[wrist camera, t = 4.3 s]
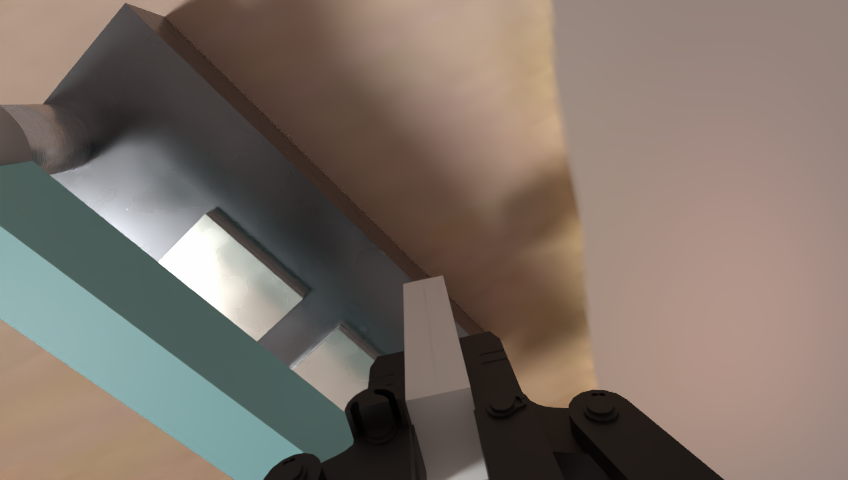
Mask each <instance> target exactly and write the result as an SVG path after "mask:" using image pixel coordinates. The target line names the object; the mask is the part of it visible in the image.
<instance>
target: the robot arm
mask: <svg viewBox="0 0 848 480" xmlns="http://www.w3.org/2000/svg"><path fill="white" fill-rule="evenodd" d="M403 296H404V349H405V351H401V352H397V353H392V354H387V355H383V356H378V357H377V358H376V360H375V361H374V363H373V364H372V366H371V367H370V372H369V381H368V389H365V390H363V391H361V392H359V393H358V394H356V395H355V396H354V397H353V398H352V399H351V400H350V401H349V402H348V403H347V406H346V408H345V410H344V411H345V414H346V417H347V421H348V424H349V427H350V430H351V433H352V436H353V439H354V441H353V445H352V446H350V447H349V448H348V449H347V450H345V451H344V452H342V453H340V454H338V455H336V456H334V457H332V458H330V459H328V460H326V461H324V462H322V463H321V462H320V459H319V458H317V457H316V456H315V455H314V454H309V453H300V454H295V455H292V456H290V457H288V458H286V459H283V460H282V461H280V462H279V463H278V464H277V465H275V466H274V467H273V468H272V469H271V470H270V471H269V473H268V474H267V475H266V476H265V478H264V479H263V480H486V479H489V480H724V479H723V478H721V477H720V476H719V475H718V474H716V473H715V472H714V471H713V470H711V469H710V468H709V467H708V466H707V465H706V464H704V463H703V462H702V461H701V460H700V459H698V458H697V457H696V456H695V455H693V454H692V453H691V452H690V451H689V450H687V449H686V448H685V447H684V446H683V445H681V444H680V443H679V442H678V441H676V440H675V439H674V438H673V437H672V436H670V435H669V434H668V433H667V432H665V431H664V430H663V429H662V428H661V427H659V426H658V425H657V424H656V423H655V422H653V421H652V420H651V419H650V418H649V417H647V416H646V415H645V414H644V413H642V412H641V411H640V410H639V409H638V408H636V407H635V406H634V405H633V404H632V403H630V402H629V401H628V400H627V399H625V398H623V397H622V396H620V395H618V394H617V393H613V392H609V391H605V390H590V391H586V392H582V393H580V394H579V395H577V396H575V397H574V398H573V399H572V401H571V402H570V404H569V408H553V407H545V406H542V405H538V404H536V403H534V402H532V401H530V400H529V399H528V397H527V396H526V395H525V394H523V392H522V391H521V388H520V386H519V384H518V381H517V379H516V376H515V374H514V372H513V369H512V367H511V364H510V362H509V360H508V357H507V355H506V353H505V351H504V348H503V345H502V343H501V341H500V339H499V338H498V337H496V336H495V335H494V334H492V333H491V332H490V331H489V332H484V333H480V334H475V335H470V336H466V337H461V338H458V335H457V331H456V326H455V322H454V318H453V314H452V310H451V306H450V302H449V298H448V294H447V290H446V286H445V282H444V278H443V275H442V276H437V277H433V278H428V279H423V280H419V281H414V282H409V283H405V284H403Z"/></svg>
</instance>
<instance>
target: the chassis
mask: <svg viewBox="0 0 848 480" xmlns="http://www.w3.org/2000/svg"><path fill="white" fill-rule="evenodd" d="M0 106H1V107H2V108H4V109H5V110H6V111H7V112H8V113H9V114H10V115H11V116H12V117H13V118H14V119H15V120H16V121H17V123H18V124H19V125H20V127H21V128H22V130H23V132H24V133H25V135H26V137H27V139H28V142H29V145H30V148H31V153H32V161H33V162H34V163H35V164H37V165H38V166H39V167H40V168H42V169H43V170H44V171H45V172H47V173H48V174H49V175H50V176H52V177H53V178H54V179H55V180H57V181H58V182H59V183H60V184H62V185H63V186H64V187H65V188H67V189H68V190H69V191H70V192H72V193H73V194H74V195H75V196H77V197H78V198H79V199H80V200H81V201H83V202H84V203H85V204H86V205H88V206H89V207H90V208H91V209H93V210H94V211H95V212H96V213H98V214H99V215H100V216H101V217H103V218H104V219H105V220H106V221H108V222H109V223H110V224H111V225H113V226H114V227H115V228H116V229H118V230H119V231H120V232H121V233H123V234H124V235H125V236H126V237H128V238H129V239H130V240H131V241H132V242H134V243H135V244H136V245H137V246H139V247H140V248H141V249H142V250H144V251H145V252H146V253H147V254H149V255H150V256H151V257H152V258H154V259H155V260H156V261H157V262H159V263H160V264H161V265H162V266H164V267H165V268H166V269H167V270H169V271H170V272H171V273H172V274H174V275H175V276H176V277H177V278H179V279H180V280H181V281H182V282H183V283H185V284H186V285H187V286H188V287H190V288H191V289H192V290H193V291H195V292H196V293H197V294H198V295H200V296H201V297H202V298H203V299H205V300H206V301H207V302H208V303H210V304H211V305H212V306H213V307H215V308H216V309H217V310H218V311H220V312H221V313H222V314H223V315H225V316H226V317H227V318H228V319H230V320H231V321H232V322H233V323H234V324H236V325H237V326H238V327H239V328H241V329H242V330H243V331H244V332H246V333H247V334H248V335H249V336H251V337H252V338H253V339H254V340H256V341H257V342H258V343H259V344H261V345H262V346H263V347H264V348H266V349H267V350H268V351H269V352H271V353H272V354H273V355H274V356H276V357H277V358H278V359H279V360H281V361H282V362H283V363H284V364H285V365H287V366H288V367H289V368H290V369H292V370H293V371H294V372H295V373H297V374H298V375H299V376H300V377H302V378H303V379H304V380H305V381H307V382H308V383H309V384H310V385H312V386H313V387H314V388H315V389H317V390H318V391H319V392H320V393H322V394H323V395H324V396H325V397H327V398H328V399H329V400H330V401H332V402H333V403H334V404H335V405H337V406H338V407H339V408H340V409H341V410H343V411H344V410H345V408H346V406H347V403H348V402H349V401H350V400H351V399H352V398H353V397H354V396H355V395H356V394H358V393H359V392H361V391H363V390H365V389H368V381H369V372H370V367H371V366H372V364H373V363H374V361H375V360H376V358H377V357H378V356H383V355H387V354H392V353H397V352H401V351H405V349H404V296H403V284H405V283H409V282H414V281H419V280H423V279H428V278H429V277H428V276H427V275H426V274H425V273H424V272H423V271H422V270H421V269H420V268H419V267H418V266H417V265H416V264H415V263H414V262H413V261H412V260H411V259H410V258H409V257H408V256H407V255H406V254H405V253H404V252H403V251H402V250H401V249H400V248H399V247H398V246H397V245H396V244H395V243H394V242H393V241H392V240H391V239H390V238H389V237H387V236H386V235H385V234H384V233H383V232H382V231H381V230H380V229H379V228H378V227H377V226H376V225H375V224H374V223H373V222H372V221H371V220H370V219H369V218H368V217H367V216H366V215H365V214H364V213H363V212H362V211H361V210H360V209H359V208H358V207H357V206H356V205H355V204H354V203H353V202H352V201H351V200H350V199H349V198H348V197H347V196H346V195H345V194H344V193H343V192H342V191H341V190H340V189H339V188H338V187H337V186H336V185H335V184H334V183H333V182H331V181H330V180H329V179H328V178H327V177H326V176H325V175H324V174H323V173H322V172H321V171H320V170H319V169H318V168H317V167H316V166H315V165H314V164H313V163H312V162H311V161H310V160H309V159H308V158H307V157H306V156H305V155H304V154H303V153H302V152H301V151H300V150H299V149H298V148H297V147H296V146H295V145H294V144H293V143H292V142H291V141H290V140H289V139H288V138H287V137H286V136H285V135H284V134H283V133H282V132H281V131H280V130H279V129H278V128H277V127H275V126H274V125H273V124H272V123H271V122H270V121H269V120H268V119H267V118H266V117H265V116H264V115H263V114H262V113H261V112H260V111H259V110H258V109H257V108H256V107H255V106H254V105H253V104H252V103H251V102H250V101H249V100H248V99H247V98H246V97H245V96H244V95H243V94H242V93H241V92H240V91H239V90H238V89H237V88H236V87H235V86H234V85H233V84H232V83H231V82H230V81H229V80H228V79H227V78H226V77H225V76H224V75H223V74H222V73H221V72H220V71H218V70H217V69H216V68H215V67H214V66H213V65H212V64H211V63H210V62H209V61H208V60H207V59H206V58H205V57H204V56H203V55H202V54H201V53H200V52H199V51H198V50H197V49H196V48H195V47H194V46H193V45H192V44H191V43H190V42H189V41H188V40H187V39H186V38H185V37H184V36H183V35H182V34H181V33H180V32H179V31H178V30H177V29H176V28H175V27H174V26H173V25H172V24H171V23H170V22H169V21H168V20H167V19H166V18H165V17H163V16H161V15H158V14H155V13H152V12H149V11H146V10H144V9H141V8H138V7H135V6H132V5H130V4H127V3H125V4H124V5H123V6H122V8H121V9H120V10H119V11H118V13H117V14H116V15H115V16H114V17H113V19H112V20H111V21H110V22H109V24H108V25H107V26H106V27H105V29H104V30H103V31H102V32H101V33H100V35H99V36H98V37H97V38H96V40H95V41H94V42H93V43H92V45H91V46H90V47H89V48H88V49H87V51H86V52H85V53H84V54H83V56H82V57H81V58H80V59H79V60H78V62H77V63H76V64H75V65H74V67H73V68H72V69H71V70H70V72H69V73H68V74H67V75H66V76H65V78H64V79H63V80H62V81H61V83H60V84H59V85H58V86H57V88H56V89H55V90H54V91H53V92H52V94H51V95H50V96H49V97H48V99H47V100H46V101H45V102H44V103H43V104H29V105H0ZM448 298H449V302H450V306H451V310H452V314H453V318H454V322H455V326H456V331H457V335H458V338H461V337H466V336H470V335H475V334H480V333H484V331H483V330H482V329H481V328H480V327H479V326H478V325H477V324H476V323H475V322H474V321H473V320H472V319H471V318H470V317H469V316H468V315H467V314H466V313H465V312H464V311H463V310H462V309H461V308H460V307H459V306H458V305H457V304H456V303H455V302H454V301H453V300H452V299H451V298H450V297H449V296H448ZM344 412H345V411H344Z"/></svg>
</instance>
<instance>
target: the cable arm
mask: <svg viewBox="0 0 848 480" xmlns="http://www.w3.org/2000/svg"><path fill="white" fill-rule="evenodd" d="M0 319H1V320H3V321H4V322H6V323H7V324H9V325H10V326H11V327H13V328H14V329H16V330H17V331H19V332H20V333H22V334H23V335H25V336H26V337H27V338H29V339H30V340H32V341H33V342H35V343H36V344H38V345H39V346H41V347H42V348H43V349H45V350H46V351H48V352H49V353H51V354H52V355H54V356H55V357H57V358H58V359H59V360H61V361H62V362H64V363H65V364H67V365H68V366H70V367H71V368H73V369H74V370H76V371H77V372H78V373H80V374H81V375H83V376H84V377H86V378H87V379H89V380H90V381H92V382H93V383H94V384H96V385H97V386H99V387H100V388H102V389H103V390H105V391H106V392H108V393H109V394H110V395H112V396H113V397H115V398H116V399H118V400H119V401H121V402H122V403H124V404H125V405H127V406H128V407H129V408H131V409H132V410H134V411H135V412H137V413H138V414H140V415H141V416H143V417H144V418H145V419H147V420H148V421H150V422H151V423H153V424H154V425H156V426H157V427H159V428H160V429H161V430H163V431H164V432H166V433H167V434H169V435H170V436H172V437H173V438H175V439H176V440H177V441H179V442H180V443H182V444H183V445H185V446H186V447H188V448H189V449H191V450H192V451H194V452H195V453H196V454H198V455H199V456H201V457H202V458H204V459H205V460H207V461H208V462H210V463H211V464H212V465H214V466H215V467H217V468H218V469H220V470H221V471H223V472H224V473H226V474H227V475H228V476H230V477H231V478H233V479H234V480H263V479H264V478H265V476H266V475H267V474H268V473H269V471H270V470H271V469H272V468H273V467H274V466H275V465H277V464H278V463H279V462H280V461H282V460H283V459H286V458H288V457H290V456H292V455H295V454H300V453H309V454H314V455H315V456H316V457H317V458H319V459H320V462H321V463H322V462H324V461H326V460H328V459H330V458H332V457H334V456H336V455H338V454H340V453H342V452H344V451H345V450H347V449H348V448H349V447H350V446H352V445H353V441H354V439H353V436H352V433H351V430H350V427H349V424H348V421H347V417H346V414H345V412H344V411H343V410H341V409H340V408H339V407H338V406H337V405H335V404H334V403H333V402H332V401H330V400H329V399H328V398H327V397H325V396H324V395H323V394H322V393H320V392H319V391H318V390H317V389H315V388H314V387H313V386H312V385H310V384H309V383H308V382H307V381H305V380H304V379H303V378H302V377H300V376H299V375H298V374H297V373H295V372H294V371H293V370H292V369H290V368H289V367H288V366H287V365H285V364H284V363H283V362H282V361H281V360H279V359H278V358H277V357H276V356H274V355H273V354H272V353H271V352H269V351H268V350H267V349H266V348H264V347H263V346H262V345H261V344H259V343H258V342H257V341H256V340H254V339H253V338H252V337H251V336H249V335H248V334H247V333H246V332H244V331H243V330H242V329H241V328H239V327H238V326H237V325H236V324H234V323H233V322H232V321H231V320H230V319H228V318H227V317H226V316H225V315H223V314H222V313H221V312H220V311H218V310H217V309H216V308H215V307H213V306H212V305H211V304H210V303H208V302H207V301H206V300H205V299H203V298H202V297H201V296H200V295H198V294H197V293H196V292H195V291H193V290H192V289H191V288H190V287H188V286H187V285H186V284H185V283H183V282H182V281H181V280H180V279H179V278H177V277H176V276H175V275H174V274H172V273H171V272H170V271H169V270H167V269H166V268H165V267H164V266H162V265H161V264H160V263H159V262H157V261H156V260H155V259H154V258H152V257H151V256H150V255H149V254H147V253H146V252H145V251H144V250H142V249H141V248H140V247H139V246H137V245H136V244H135V243H134V242H132V241H131V240H130V239H129V238H128V237H126V236H125V235H124V234H123V233H121V232H120V231H119V230H118V229H116V228H115V227H114V226H113V225H111V224H110V223H109V222H108V221H106V220H105V219H104V218H103V217H101V216H100V215H99V214H98V213H96V212H95V211H94V210H93V209H91V208H90V207H89V206H88V205H86V204H85V203H84V202H83V201H81V200H80V199H79V198H78V197H77V196H75V195H74V194H73V193H72V192H70V191H69V190H68V189H67V188H65V187H64V186H63V185H62V184H60V183H59V182H58V181H57V180H55V179H54V178H53V177H52V176H50V175H49V174H48V173H47V172H45V171H44V170H43V169H42V168H40V167H39V166H38V165H37V164H35V163H34V162H33V161H32V153H31V148H30V145H29V142H28V139H27V137H26V135H25V133H24V132H23V130H22V128H21V127H20V125H19V124H18V123H17V121H16V120H15V119H14V118H13V117H12V116H11V115H10V114H9V113H8V112H7V111H6V110H5V109H4V108H2V107H1V106H0Z"/></svg>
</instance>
